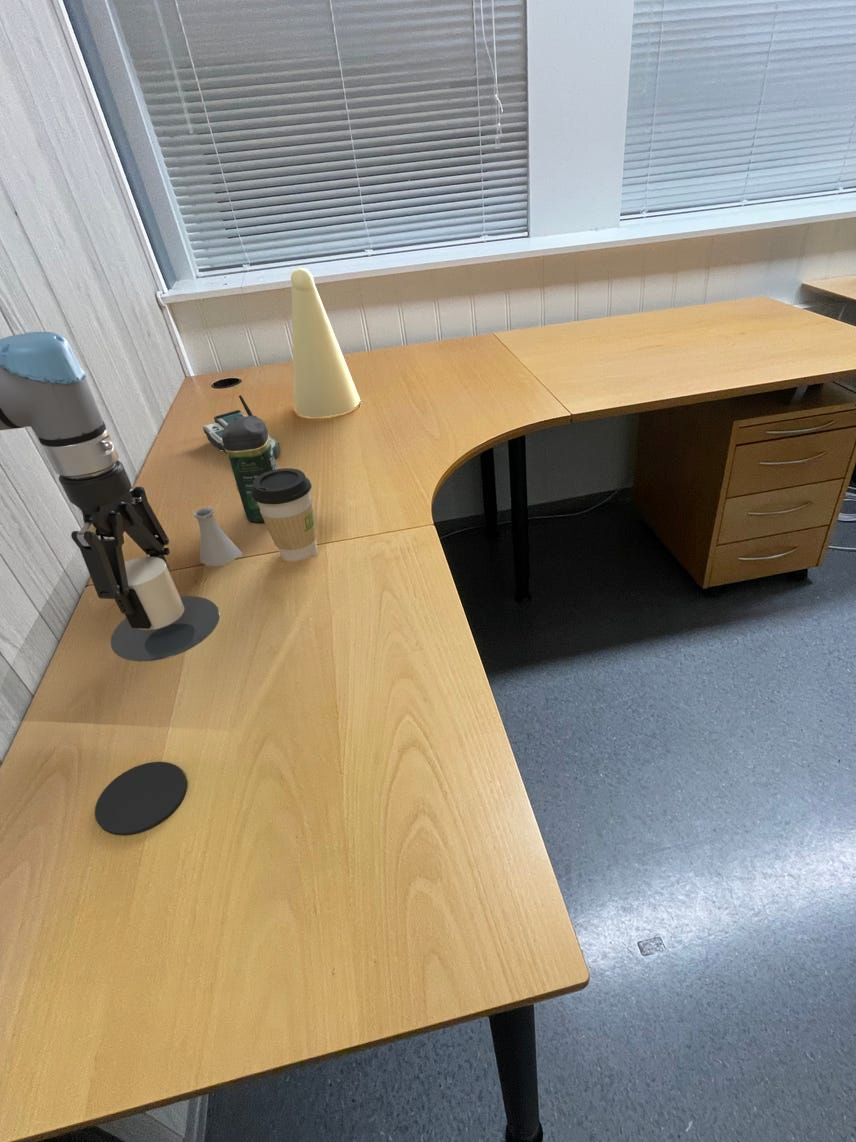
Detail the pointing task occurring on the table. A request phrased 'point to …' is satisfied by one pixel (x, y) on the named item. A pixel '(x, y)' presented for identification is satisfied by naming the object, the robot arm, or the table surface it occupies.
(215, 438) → the communication device
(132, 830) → the coaster
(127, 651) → the plate
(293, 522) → the coffee cup
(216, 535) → the flask
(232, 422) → the coffee jar
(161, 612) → the white cylinder
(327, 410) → the cone light
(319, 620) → the table surface
